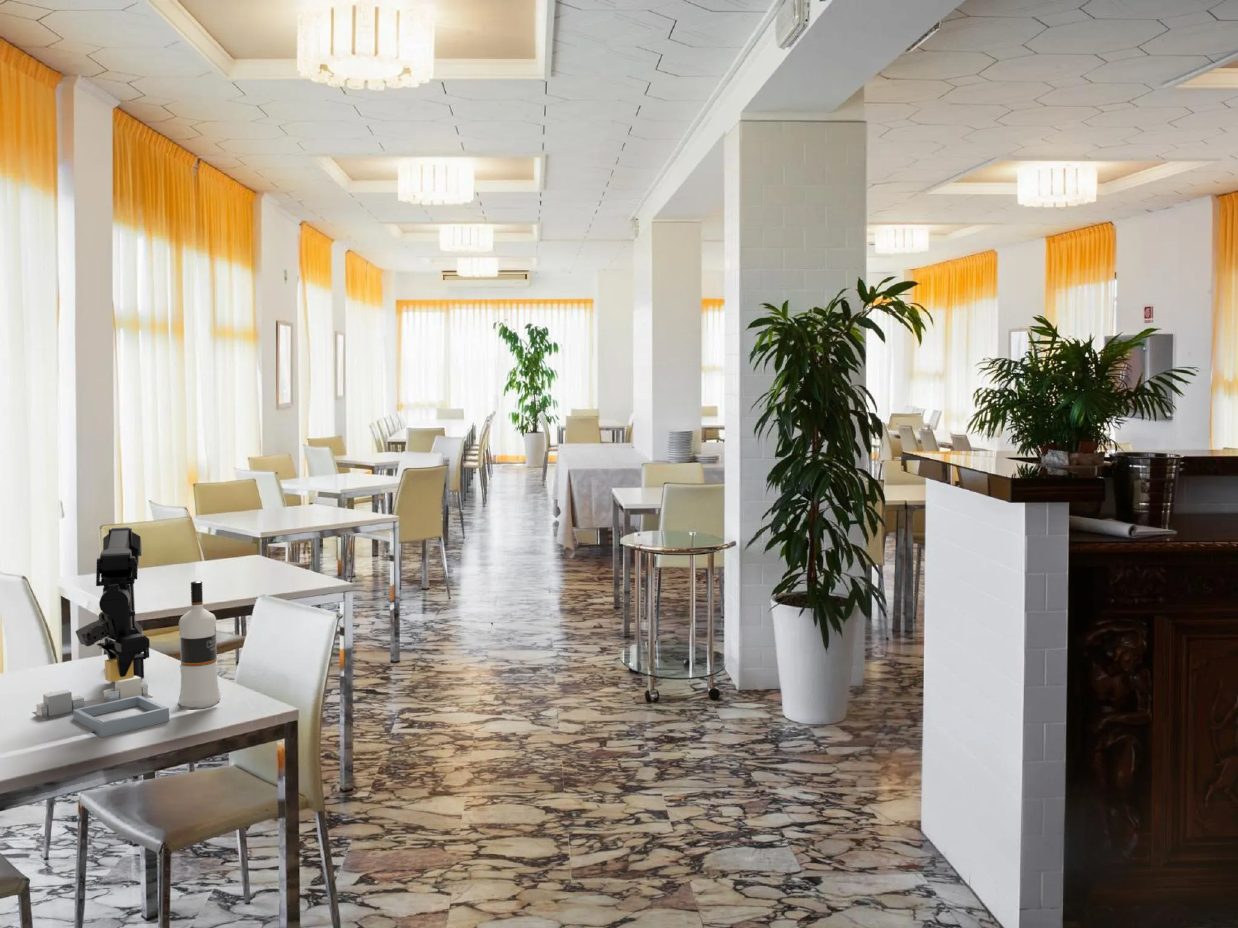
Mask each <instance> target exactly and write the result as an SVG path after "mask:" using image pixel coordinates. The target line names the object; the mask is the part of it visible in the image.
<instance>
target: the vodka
mask: <svg viewBox="0 0 1238 928" xmlns="http://www.w3.org/2000/svg"><path fill="white" fill-rule="evenodd" d="M203 596H204V595H203V581H199V580H194V581H191V582H190V598H191V599H190V601H191V603H190V604H191V609H190V610H188V611H187V612H186V613H183V615H182V616H180V618H179V621H178V629H179V633H178V634H179V643H180V646H179V647H180V665H179V669H180V692H179V695H178V705H180V706H182V707H190V708H188V710H189V711H190V710H192V711H193V710H194V711H195V710H205V709H209V708H212V707H215V706H217V704H219V703H220V700H221V692H220V688H219V682H218V680H219V679H218V664H219V663H218V661H217V660H218V659H217V658H218V657H217V651H218V650H217V627H216V626H217V617H216V615H215V614H214V613H212V612H210V611H209V610H208V609H205V608H204V602H203V601H204V599H203V598H204V597H203Z"/></svg>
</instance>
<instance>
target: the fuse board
mask: <svg viewBox="0 0 1238 928" xmlns="http://www.w3.org/2000/svg"><path fill="white" fill-rule="evenodd" d="M148 688H149V685H148V684H147V683H145V682H143V681H141V689H142V696H143V697H145V698H147V699H151V698H154V696H152V695H150V694H149V692H148V691H149V689H148ZM116 700H119V690H117V689H115V687H114V688H113V687H112V688H108V689H103V696H101V697H96V698H92V699H87V700H85V698H84V697H83V696H81V695H75V696H74V695H73V696H72V711H70V712H66V713H61V714H57V715H52V716H48V715H47V705H45V704H44V703H36V704H35V705H36V711H32V712H31V713H32V714H34V715H36V716H37V717H39V718H41V719H43V720H44V721H51V720H57V719H61V718H66V717H69V716H73V710H75V709H79V708H84V707H89V706H93V705H98V704H102V703H107V702H111V701H116Z"/></svg>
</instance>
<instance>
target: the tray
mask: <svg viewBox="0 0 1238 928" xmlns="http://www.w3.org/2000/svg"><path fill="white" fill-rule="evenodd" d="M136 706H138V707H140V708H142V709H144V710H147V711H145V712H139V713H136V714H132V715H127V716H124V717H119V718H114V719H110V720H105V721H102V720H100V719H98V718H97V717H94V716H98V715H101V714H107V713H110V712H111V713H112V712H115V711H119V710H125V709H128V708H133V707H136ZM72 717H73V718H72V719H73V720H75V721H76V722H79V723H81V724H82V725H84V726H86V727H87V728H90V729H92V730H93V731H90V733H92V734H94V735H95V736H97V737H99V738H104V737H109V736H113V735H117V734H121V733H125V731H126V732H129V730H130V731H133V730H138V729H141V728H145V727H144V726H146V727H149V726H153V725H154V726H155V725H158V724H162V723H166V722H170V708H169V707H167V706H166V705H163V704H161V703H158V702H157V701H154V700H151V699H150V698H145V697H143V696H140V695H139V696H134V697H130V698H125V699H121V700H116V701H111V702H107V703H102V704H98V705H93V706H89V707H84V708H79V709H75V710H73V715H72ZM137 728H138V729H137Z"/></svg>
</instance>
